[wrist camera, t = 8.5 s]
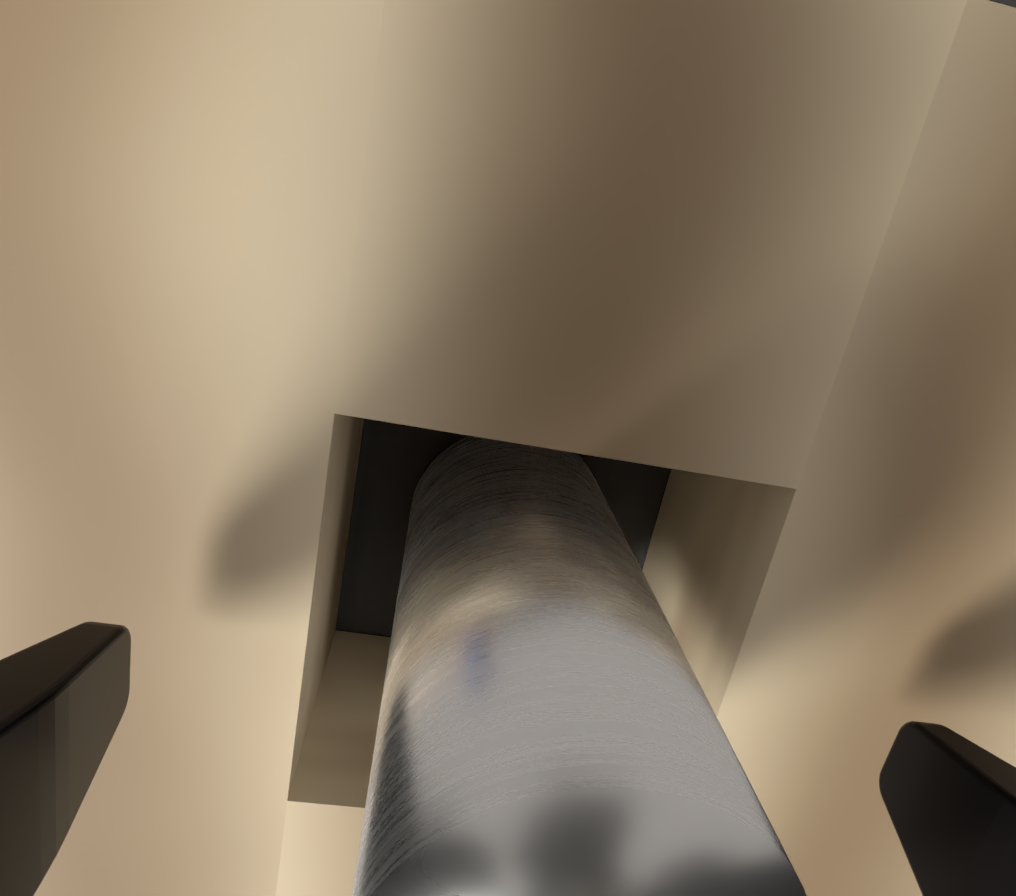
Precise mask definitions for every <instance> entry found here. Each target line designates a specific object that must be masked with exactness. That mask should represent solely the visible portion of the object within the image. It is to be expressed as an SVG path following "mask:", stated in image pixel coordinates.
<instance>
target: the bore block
mask: <svg viewBox="0 0 1016 896" xmlns="http://www.w3.org/2000/svg"><path fill="white" fill-rule="evenodd" d="M364 418H365V419H371V420H377V421H383V422H389V423H395V424H401V425H408V426H414V427H420V428H426V429H432V430H438V431H444V432H450V433H457V434H463V435H469V436H475V437H481V438H487V439H493V440H499V441H506V442H512V443H518V444H524V445H530V446H536V447H542V448H548V449H554V450H561V451H567V452H573V453H579V454H585V455H591V456H597V457H603V458H610V459H616V460H622V461H628V462H634V463H640V464H646V465H652V466H659V467H665V468H671V472H670V475H669V479H668V482H667V486H666V489H665V493H664V496H663V500H662V503H661V507H660V510H659V514H658V517H657V521H656V524H655V528H654V531H653V534H652V538H651V541H650V545H649V548H648V552H647V555H646V559H645V562H644V566H643V569H642V571H643V573H644V575H645V577H646V579H647V581H648V583H649V585H650V587H651V589H652V591H653V593H654V595H655V597H656V599H657V601H658V603H659V605H660V607H661V609H662V611H663V613H664V615H665V617H666V619H667V620H668V622H669V624H670V626H671V628H672V630H673V632H674V634H675V636H676V638H677V640H678V642H679V644H680V646H681V648H682V650H683V652H684V654H685V656H686V658H687V660H688V662H689V664H690V666H691V668H692V670H693V671H694V673H695V675H696V677H697V679H698V681H699V683H700V685H701V687H702V689H703V691H704V693H705V695H706V697H707V699H708V701H709V703H710V705H711V707H712V709H713V711H714V713H715V715H716V717H717V719H718V721H719V722H720V724H721V726H722V728H723V730H724V732H725V734H726V736H727V738H728V740H729V742H730V744H731V746H732V748H733V750H734V752H735V754H736V756H737V758H738V760H739V762H740V764H741V766H742V768H743V770H744V772H745V773H746V775H747V777H748V779H749V781H750V783H751V785H752V787H753V789H754V791H755V793H756V795H757V797H758V799H759V801H760V803H761V805H762V807H763V809H764V811H765V813H766V815H767V817H768V819H769V821H770V823H771V824H772V826H773V828H774V830H775V832H776V834H777V836H778V838H779V840H780V842H781V844H782V846H783V848H784V850H785V852H786V854H787V856H788V858H789V860H790V862H791V864H792V866H793V868H794V870H795V872H796V874H797V875H798V877H799V879H800V881H801V883H802V885H803V887H804V890H805V893H806V895H807V896H923V895H922V893H921V891H920V888H919V886H918V883H917V881H916V878H915V876H914V874H913V871H912V869H911V866H910V864H909V862H908V859H907V857H906V854H905V852H904V850H903V847H902V845H901V842H900V840H899V837H898V835H897V833H896V830H895V828H894V825H893V823H892V821H891V818H890V816H889V813H888V811H887V808H886V806H885V804H884V801H883V799H882V796H881V793H880V788H879V776H880V772H881V769H882V767H883V765H884V762H885V760H886V758H887V756H888V753H889V751H890V749H891V747H892V745H893V742H894V740H895V738H896V736H897V734H898V731H899V730H900V728H901V727H902V726H903V725H904V724H905V723H907V722H910V721H918V722H926V723H935V724H940V725H943V726H945V727H947V728H949V729H951V730H953V731H954V732H956V733H958V734H959V735H961V736H963V737H965V738H966V739H968V740H970V741H971V742H973V743H975V744H977V745H978V746H980V747H982V748H983V749H985V750H987V751H989V752H990V753H992V754H994V755H995V756H997V757H999V758H1001V759H1002V760H1004V761H1006V762H1007V763H1009V764H1011V765H1012V766H1014V767H1016V8H1015V7H1011V6H1008V5H1004V4H1000V3H997V2H993V1H989V0H0V660H1V659H3V658H5V657H8V656H10V655H12V654H14V653H17V652H19V651H21V650H23V649H25V648H28V647H30V646H32V645H34V644H37V643H39V642H41V641H43V640H46V639H48V638H50V637H52V636H55V635H57V634H59V633H61V632H63V631H66V630H68V629H70V628H72V627H75V626H77V625H79V624H82V623H84V622H90V621H91V622H100V623H109V624H117V625H123V626H125V627H126V628H127V629H128V630H129V632H130V635H131V661H130V690H129V697H128V702H127V706H126V709H125V711H124V714H123V716H122V719H121V721H120V723H119V725H118V727H117V729H116V731H115V733H114V736H113V738H112V740H111V742H110V744H109V746H108V748H107V751H106V753H105V755H104V757H103V759H102V761H101V763H100V765H99V768H98V770H97V772H96V774H95V776H94V778H93V780H92V783H91V785H90V787H89V789H88V791H87V793H86V795H85V798H84V800H83V802H82V804H81V806H80V808H79V810H78V812H77V815H76V817H75V819H74V821H73V823H72V825H71V827H70V830H69V832H68V834H67V836H66V838H65V840H64V842H63V844H62V846H61V848H60V850H59V852H58V854H57V856H56V858H55V859H54V861H53V863H52V865H51V867H50V868H49V870H48V872H47V874H46V875H45V877H44V879H43V881H42V882H41V884H40V886H39V887H38V889H37V891H36V892H35V894H34V896H352V891H353V884H354V878H355V871H356V864H357V858H358V851H359V845H360V838H361V832H362V825H363V819H364V812H365V805H366V799H367V792H368V786H369V779H370V773H371V766H372V760H373V753H374V746H375V740H376V733H377V727H378V720H379V714H380V707H381V701H382V694H383V688H384V681H385V674H386V668H387V661H388V655H389V648H390V642H391V637H385V636H377V635H369V634H361V633H352V632H344V631H336V623H337V616H338V608H339V601H340V594H341V586H342V579H343V572H344V564H345V557H346V549H347V542H348V535H349V527H350V520H351V513H352V505H353V498H354V491H355V483H356V476H357V468H358V461H359V454H360V446H361V439H362V432H363V424H364Z"/></svg>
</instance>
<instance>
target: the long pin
mask: <svg viewBox="0 0 1016 896" xmlns="http://www.w3.org/2000/svg"><path fill="white" fill-rule="evenodd" d="M352 896H807V895H806V893H805V890H804V887H803V885H802V883H801V881H800V879H799V877H798V875H797V874H796V872H795V870H794V868H793V866H792V864H791V862H790V860H789V858H788V856H787V854H786V852H785V850H784V848H783V846H782V844H781V842H780V840H779V838H778V836H777V834H776V832H775V830H774V828H773V826H772V824H771V823H770V821H769V819H768V817H767V815H766V813H765V811H764V809H763V807H762V805H761V803H760V801H759V799H758V797H757V795H756V793H755V791H754V789H753V787H752V785H751V783H750V781H749V779H748V777H747V775H746V773H745V772H744V770H743V768H742V766H741V764H740V762H739V760H738V758H737V756H736V754H735V752H734V750H733V748H732V746H731V744H730V742H729V740H728V738H727V736H726V734H725V732H724V730H723V728H722V726H721V724H720V722H719V721H718V719H717V717H716V715H715V713H714V711H713V709H712V707H711V705H710V703H709V701H708V699H707V697H706V695H705V693H704V691H703V689H702V687H701V685H700V683H699V681H698V679H697V677H696V675H695V673H694V671H693V670H692V668H691V666H690V664H689V662H688V660H687V658H686V656H685V654H684V652H683V650H682V648H681V646H680V644H679V642H678V640H677V638H676V636H675V634H674V632H673V630H672V628H671V626H670V624H669V622H668V620H667V619H666V617H665V615H664V613H663V611H662V609H661V607H660V605H659V603H658V601H657V599H656V597H655V595H654V593H653V591H652V589H651V587H650V585H649V583H648V581H647V579H646V577H645V575H644V573H643V571H642V569H641V568H640V566H639V564H638V562H637V560H636V558H635V556H634V554H633V552H632V550H631V548H630V546H629V544H628V542H627V540H626V538H625V536H624V534H623V532H622V530H621V528H620V526H619V524H618V522H617V520H616V518H615V517H614V515H613V513H612V511H611V509H610V507H609V505H608V503H607V501H606V499H605V497H604V495H603V493H602V491H601V489H600V487H599V485H598V483H597V481H596V479H595V477H594V476H593V474H592V472H591V470H590V469H589V467H588V466H587V464H586V463H585V462H584V461H583V459H582V458H581V457H580V456H579V455H578V454H577V453H573V452H567V451H561V450H554V449H548V448H542V447H536V446H530V445H524V444H518V443H512V442H506V441H499V440H493V439H487V438H481V437H475V436H467V437H464V438H462V439H460V440H459V441H457V442H455V443H453V444H452V445H450V446H449V447H448V448H446V449H445V450H444V451H442V452H441V453H440V454H439V455H438V456H437V457H436V458H435V459H434V460H433V461H432V462H431V464H430V465H429V466H428V468H427V469H426V470H425V472H424V473H423V475H422V477H421V479H420V480H419V482H418V485H417V487H416V490H415V492H414V496H413V500H412V504H411V511H410V517H409V524H408V530H407V537H406V543H405V550H404V556H403V563H402V570H401V576H400V583H399V589H398V596H397V602H396V609H395V615H394V622H393V629H392V635H391V642H390V648H389V655H388V661H387V668H386V674H385V681H384V688H383V694H382V701H381V707H380V714H379V720H378V727H377V733H376V740H375V746H374V753H373V760H372V766H371V773H370V779H369V786H368V792H367V799H366V805H365V812H364V819H363V825H362V832H361V838H360V845H359V851H358V858H357V864H356V871H355V878H354V884H353V891H352Z"/></svg>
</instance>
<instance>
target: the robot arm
mask: <svg viewBox="0 0 1016 896" xmlns="http://www.w3.org/2000/svg"><path fill="white" fill-rule="evenodd" d="M130 661H131V635H130V632H129V630H128V629H127V628H126V627H125V626H123V625H117V624H109V623H100V622H91V621H90V622H84V623H82V624H79V625H77V626H75V627H72V628H70V629H68V630H66V631H63V632H61V633H59V634H57V635H55V636H52V637H50V638H48V639H46V640H43V641H41V642H39V643H37V644H34V645H32V646H30V647H28V648H25V649H23V650H21V651H19V652H17V653H14V654H12V655H10V656H8V657H5V658H3V659H1V660H0V896H34V894H35V892H36V891H37V889H38V887H39V886H40V884H41V882H42V881H43V879H44V877H45V875H46V874H47V872H48V870H49V868H50V867H51V865H52V863H53V861H54V859H55V858H56V856H57V854H58V852H59V850H60V848H61V846H62V844H63V842H64V840H65V838H66V836H67V834H68V832H69V830H70V827H71V825H72V823H73V821H74V819H75V817H76V815H77V812H78V810H79V808H80V806H81V804H82V802H83V800H84V798H85V795H86V793H87V791H88V789H89V787H90V785H91V783H92V780H93V778H94V776H95V774H96V772H97V770H98V768H99V765H100V763H101V761H102V759H103V757H104V755H105V753H106V751H107V748H108V746H109V744H110V742H111V740H112V738H113V736H114V733H115V731H116V729H117V727H118V725H119V723H120V721H121V719H122V716H123V714H124V711H125V709H126V706H127V702H128V697H129V690H130ZM879 788H880V793H881V796H882V799H883V801H884V804H885V806H886V808H887V811H888V813H889V816H890V818H891V821H892V823H893V825H894V828H895V830H896V833H897V835H898V837H899V840H900V842H901V845H902V847H903V850H904V852H905V854H906V857H907V859H908V862H909V864H910V866H911V869H912V871H913V874H914V876H915V878H916V881H917V883H918V886H919V888H920V891H921V893H922V895H923V896H1016V767H1014V766H1012V765H1011V764H1009V763H1007V762H1006V761H1004V760H1002V759H1001V758H999V757H997V756H995V755H994V754H992V753H990V752H989V751H987V750H985V749H983V748H982V747H980V746H978V745H977V744H975V743H973V742H971V741H970V740H968V739H966V738H965V737H963V736H961V735H959V734H958V733H956V732H954V731H953V730H951V729H949V728H947V727H945V726H943V725H940V724H935V723H926V722H918V721H910V722H907V723H905V724H904V725H903V726H902V727H901V728H900V730H899V731H898V734H897V736H896V738H895V740H894V742H893V745H892V747H891V749H890V751H889V753H888V756H887V758H886V760H885V762H884V765H883V767H882V769H881V772H880V776H879Z"/></svg>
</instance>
